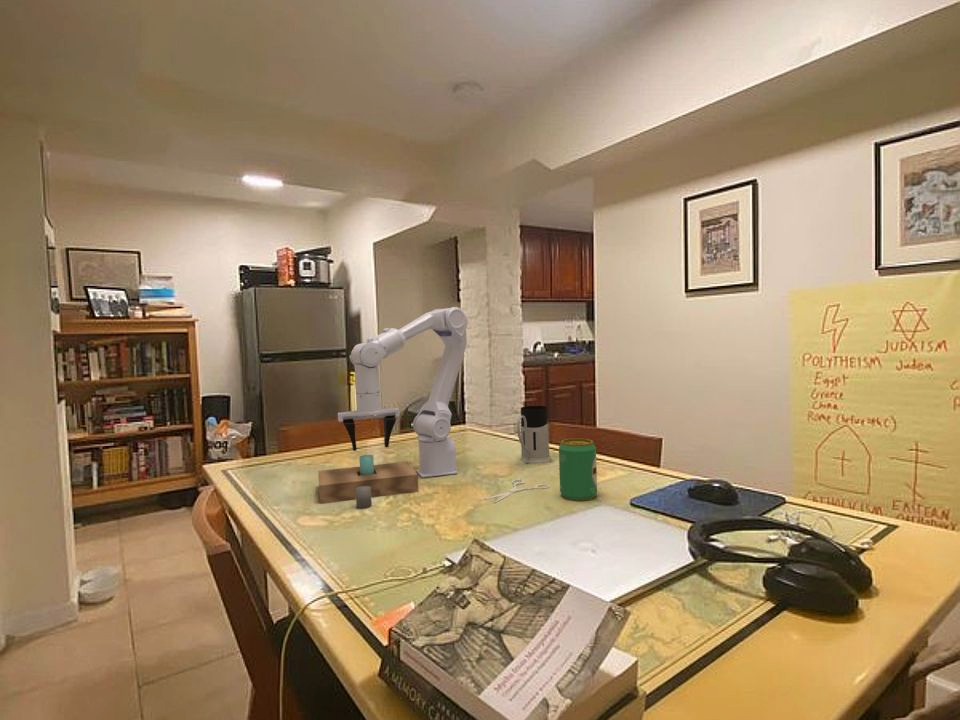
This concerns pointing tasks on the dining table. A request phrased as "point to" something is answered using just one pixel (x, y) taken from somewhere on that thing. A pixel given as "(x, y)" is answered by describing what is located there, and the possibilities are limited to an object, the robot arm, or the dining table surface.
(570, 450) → the beverage can
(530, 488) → the scissors
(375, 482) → the walnut hole block
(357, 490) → the charcoal stub
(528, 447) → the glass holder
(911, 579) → the dining table surface
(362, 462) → the teal pin
